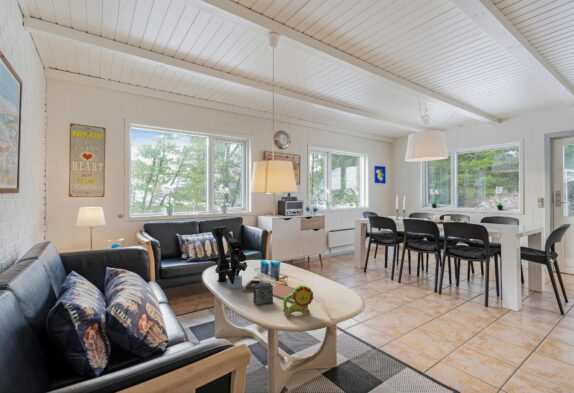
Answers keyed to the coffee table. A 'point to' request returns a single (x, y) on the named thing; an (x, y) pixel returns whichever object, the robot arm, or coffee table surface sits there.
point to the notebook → (283, 292)
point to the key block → (235, 282)
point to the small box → (262, 294)
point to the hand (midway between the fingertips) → (234, 282)
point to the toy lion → (298, 301)
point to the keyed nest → (250, 284)
